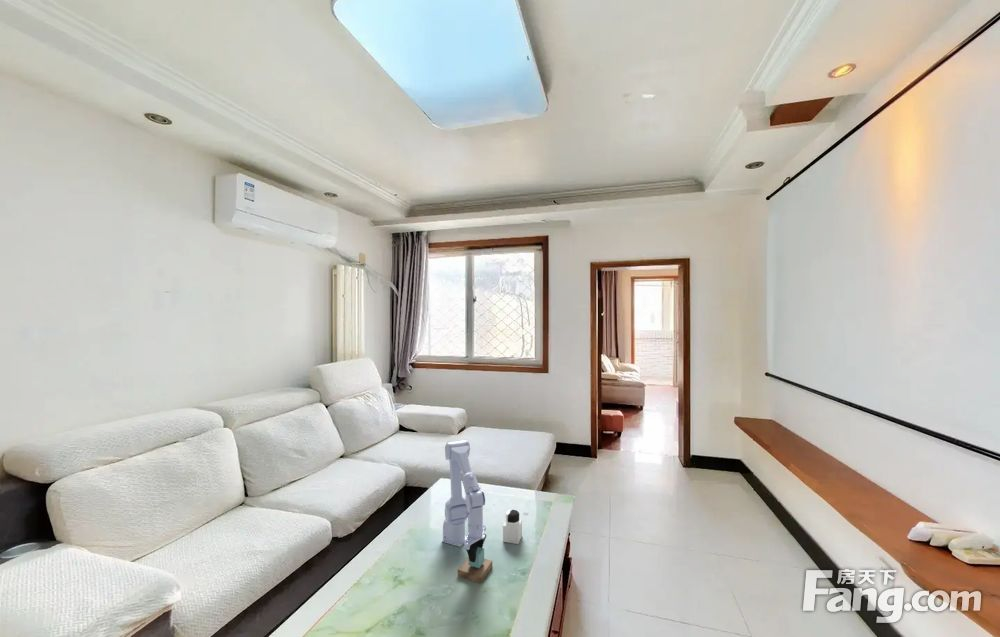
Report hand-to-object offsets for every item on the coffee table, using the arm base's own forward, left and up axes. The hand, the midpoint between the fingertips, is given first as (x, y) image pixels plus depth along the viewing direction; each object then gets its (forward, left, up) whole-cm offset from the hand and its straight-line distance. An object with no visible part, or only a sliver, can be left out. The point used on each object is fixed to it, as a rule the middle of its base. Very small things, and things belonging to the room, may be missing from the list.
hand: (475, 557), depth 148 cm
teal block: (+1, 0, -2) cm, 2 cm away
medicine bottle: (+5, +26, -6) cm, 27 cm away
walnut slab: (0, 0, -6) cm, 6 cm away
